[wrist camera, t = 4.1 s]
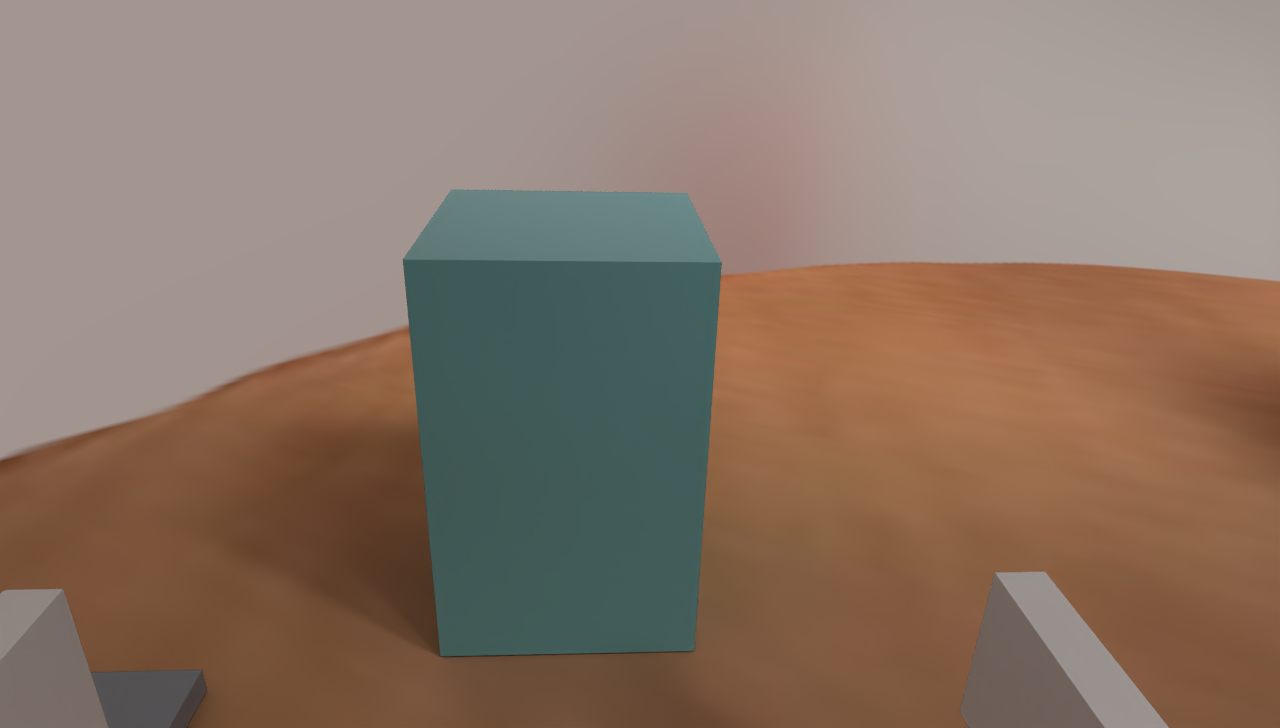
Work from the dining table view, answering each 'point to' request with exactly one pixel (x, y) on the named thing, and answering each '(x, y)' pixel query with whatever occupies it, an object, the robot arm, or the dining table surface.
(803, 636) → the dining table surface
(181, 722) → the post
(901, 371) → the dining table surface
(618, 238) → the teal rectangular prism
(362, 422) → the dining table surface
